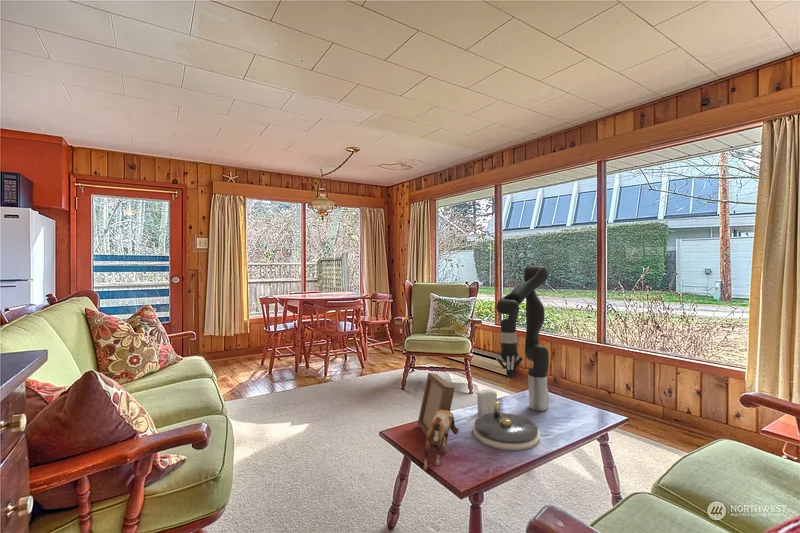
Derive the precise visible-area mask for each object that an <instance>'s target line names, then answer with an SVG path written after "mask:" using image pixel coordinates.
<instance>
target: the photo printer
mask: <svg viewBox="0 0 800 533" xmlns="http://www.w3.org/2000/svg"><path fill="white" fill-rule="evenodd" d="M476 394H477V395H476V396H477V397H476V398H477V415H479V416H483V415H486V414H493V413H494V406H493V402H494V401H498V396H497V391H496V390H495V389H492V388H484V389H481V390H479V391H477V393H476Z"/></svg>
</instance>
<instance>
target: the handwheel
mask: <svg viewBox="0 0 800 533" xmlns="http://www.w3.org/2000/svg"><path fill="white" fill-rule="evenodd" d="M493 406H494V413H493V414H486V415H480V416H479V417H477V418H476V419H475V421H474V423H475V429H476V431H477V432H478V433H479V434H481V435H482V436H484V437H486V438H488V439H491V440H494V441H498V442H504V443H523V442H528V441H531V440H533V439H534V438H536V436H537V435H538V430H539V429H538V425H536V423H535V422H534V421H532V420H530V419H529V418H526V417H523V416H521V415H517V414H512V413H505V412H502V413H501V402H500V401H499V400H497V401H494V402H493Z"/></svg>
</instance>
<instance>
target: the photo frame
mask: <svg viewBox="0 0 800 533" xmlns="http://www.w3.org/2000/svg"><path fill="white" fill-rule="evenodd" d="M427 373H428V374H427V378H426V383H425V388H424V391H423V392H424V393H423V397H422V402H421V406H420V411H419V413H418V414H419V415H418V420H417V426H418V427H419V429H421V431H422V432H423V434H424V435H425V436H426V437H427V431H428V429H429V426H430V424H431V422H432V420H433V418H434V417H435V413H436V412H437V411H439V410H446V411H447V410H448V411H450V412H451V408H452V405H453V399H454V394H455V387H454V386H453V385H451V384H450V383H449V382H448V381H446V379H444V378H442V377H441V376H440V375H439V374H438V373H433V372H427ZM450 430H451V428H450V429H449V431H450ZM441 441H442V445H441V446H440V447H443V445H444V443H445V433H444V434H443V439H442V440H441ZM431 445H432V446H436V447H437V442H435V441H433V442H431Z"/></svg>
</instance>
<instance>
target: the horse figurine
mask: <svg viewBox="0 0 800 533" xmlns="http://www.w3.org/2000/svg"><path fill="white" fill-rule="evenodd" d="M449 429H450V430H451V431H452V433H453V434H454V435H455V436H458V434H459V430H460V428H457V427H456V424H455V418H454V415H453V413H452V412H451V410H450V411H448V410H447V411H446V410H439V411H437V412H436V413H435V417H434V418H433V420H432V422H431V424H430V426H429V429H428V431H427V436H426V442H425V450H424V465H423V469H422V470H424V471H427V470H428V456H429V451H430V448H431V445H432V443H431V442H433V441H435V442H437V446H436V461H435V466H439V465H440V451H441V447H442V446H441V445H442V441H441V440H442V439H443V434H444V433H445V437H444V448H443V453H445V454H447V453H448V438H449V437H448V436H449V432H450V430H449Z"/></svg>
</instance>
